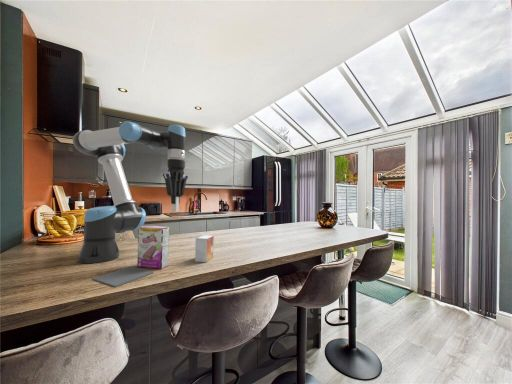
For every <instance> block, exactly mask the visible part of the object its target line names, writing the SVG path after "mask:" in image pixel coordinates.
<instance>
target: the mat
mask: <svg viewBox="0 0 512 384" xmlns="http://www.w3.org/2000/svg"><path fill="white" fill-rule="evenodd" d="M153 274H154V271H150V270H146V269H143V268H140V267H134V266H129V267H125V268H122V269H119V270H115V271H111V272H108V273H105V274H102V275H100V276H96V277H93V278H92V281H96V282H99V283H101V284H104V285H107V286H111V287H113V288H117V287H120V286H123V285H126V284H128V283H131V282H133V281H134V282H135V281H136V280H140V279H141V278H144V277H148V276H150V275H153Z"/></svg>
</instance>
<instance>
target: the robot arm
mask: <svg viewBox="0 0 512 384" xmlns="http://www.w3.org/2000/svg"><path fill="white" fill-rule="evenodd" d="M167 128H168V129H167V130H166V131H158V130H155V129H153V128H150V127H146V126H144V125H142V124H141V125H140V124H138V123H136V122H132V121H123V122H122V123H121V124H120V126H117V127H111V128H105V129H99V130H93V131H92V130H90V129H85V130H80V131H77V132H76V133H75V134H74V136H73V137H72V144H73V146H74V148H75V149H76V150H77V151H78V152H79V153H82V154H84V155H86V156H92V157H96V158H97V162H98V163H99V164H101V165H102V169H103V171H104V173H105V177H106V181H107V184H108V188H109V191H110V192H109V193H110V195H111V198H112V201H113V205H105V206H96V207H91V208H88V209H87V210H86V211H85V212H84V218H83V226H84V227H83V244H82V246H81V249H80V251H79V253H78V255H77V256H78V257H77V262H79V263H80V264H96V263H104V262H108V261H112V260H115V259H118V258H119V256H120V249H119V247H118V244H117V241H116V234H117V233H122V232H131V231H136V230H138V227H142V226H145V222H146V220H147V213H146V210H145V209H144V208H143V207H140V206H139V205H138V203H137V201H135V200H134V199H133V197H132V193H131V190H130V187H129V184H128V181H127V178H126V174H125V171H124V167H123V165H122V164H123V163H122V161H123V160H124V158H125V156H126V147H125V145H127V144H135V143H136V144H142V145H144V146H145V145H146V146H148V147H149V148H150V149H152V150H163V149H167V168H168V169H167V172H166V173H163V174H162V176H163V178H164V182H165V189H166V195H167V196H169V197H171V198H170V200H171V201H170V203H171V212H179V211H180V206H179V205H180V203H181V201H180V200H181V197H182V196H184V195H185V193H184V192H185V188H186V183H187V180H188V177H189V176H188V175H185V171H184V170H185V168H186V161H185V159H186V138H187V136H186V129H185V127H184V126H182V125H179V124H170V125H169V126H168V127H167Z"/></svg>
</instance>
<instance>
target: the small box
mask: <svg viewBox="0 0 512 384" xmlns="http://www.w3.org/2000/svg"><path fill="white" fill-rule="evenodd" d="M214 238H215V236H214V235H205V234H204V235H200V236H198V237H196V238H195V246H194V247H195V250H194V251H195V253H194V254H195V255H194V256H195V257H194V258H195V259H194V262H196V263H197V262H198V263H199V262H200V263H202V262H203V263H207V262H209V261H210V260H212V259H213V258H214V243H215V242H214V240H215V239H214Z"/></svg>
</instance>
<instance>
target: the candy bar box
mask: <svg viewBox="0 0 512 384" xmlns="http://www.w3.org/2000/svg"><path fill="white" fill-rule="evenodd" d="M137 230H138V233H137V234H138V235H137V236H138V238H137V264H136V265H137V266H136V268H144V269H157V270H158V269H159V270H163V269H165V268H167V267H168V266H169V249H170V247H169V246H170V245H169V244H170V226H157V225H143V226H142V227H138V229H137Z"/></svg>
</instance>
